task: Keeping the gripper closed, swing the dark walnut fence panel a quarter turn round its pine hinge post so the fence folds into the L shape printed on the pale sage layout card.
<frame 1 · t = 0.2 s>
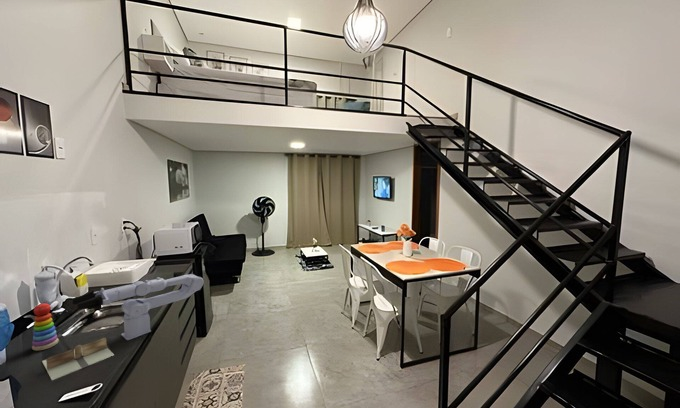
hand: (74, 304, 113), 22 cm above the worktop, tool horizontal, fingers open, 7 cm apart
layout card: (78, 358, 112), on the worktop
stacking toy: (45, 346, 121), on the worktop
fence panel: (60, 358, 108), point 3 cm above the worktop, hinge at 0.0°
fence: (78, 358, 112), resting on layout card
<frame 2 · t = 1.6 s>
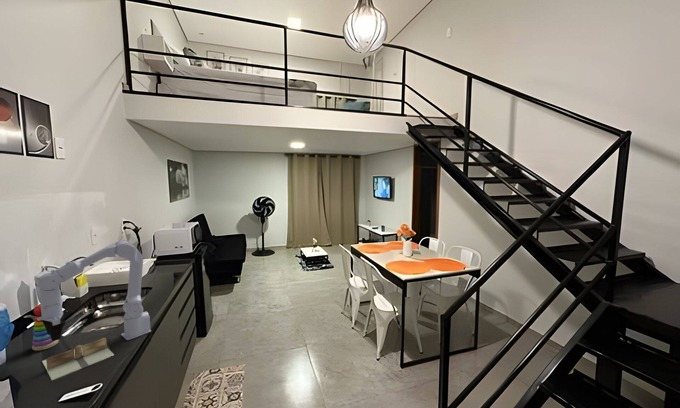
hand: (54, 336, 111), 9 cm above the worktop, tool pointing down, fingers open, 7 cm apart
nothing on the worktop moved.
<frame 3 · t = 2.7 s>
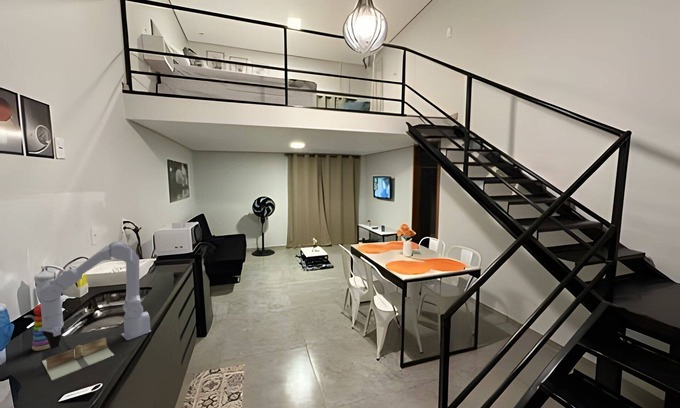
hand: (54, 347, 111), 5 cm above the worktop, tool pointing down, fingers closed
nothing on the worktop moved.
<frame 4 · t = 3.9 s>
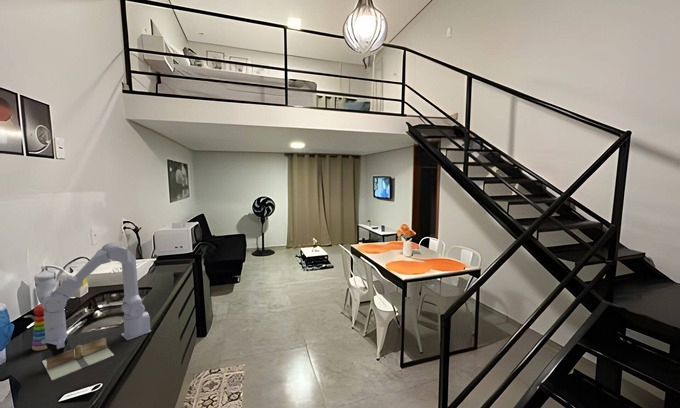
hand: (58, 359, 109), 2 cm above the worktop, tool pointing down, fingers closed
fence panel: (60, 358, 108), point 3 cm above the worktop, hinge at 0.0°, touching gripper
everything else where it was.
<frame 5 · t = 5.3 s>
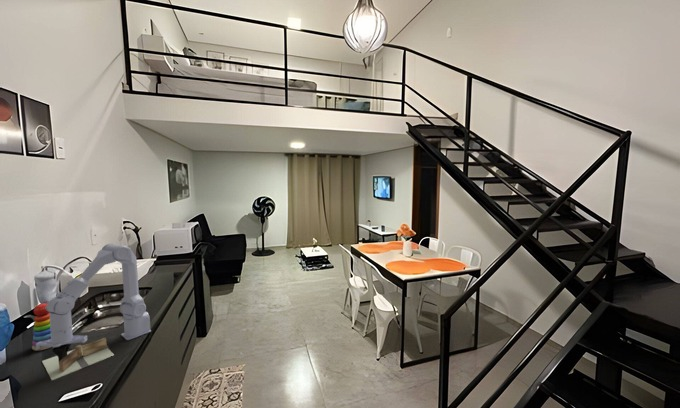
hand: (63, 363, 106), 2 cm above the worktop, tool pointing down, fingers closed, pressing on fence panel
fence panel: (68, 360, 107), point 3 cm above the worktop, hinge at 46.7°, touching gripper
everything else where it was.
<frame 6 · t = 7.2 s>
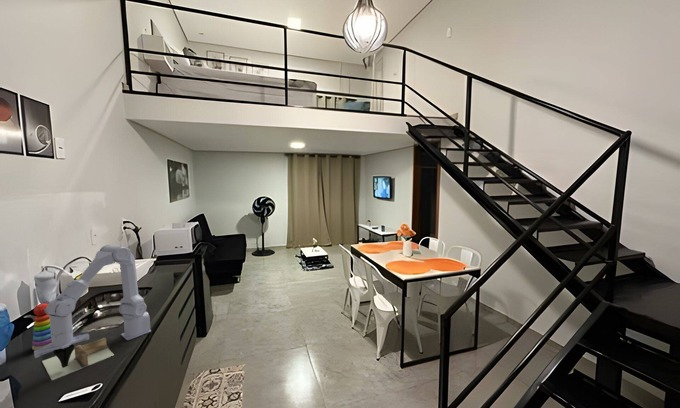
hand: (64, 365, 105), 2 cm above the worktop, tool pointing down, fingers closed
fence panel: (82, 356, 109), point 3 cm above the worktop, hinge at 92.1°
everything else where it was.
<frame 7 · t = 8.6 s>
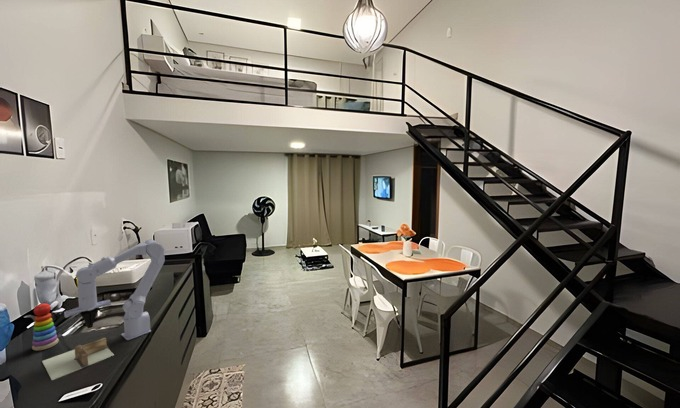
hand: (89, 327, 119), 9 cm above the worktop, tool pointing down, fingers closed
nothing on the worktop moved.
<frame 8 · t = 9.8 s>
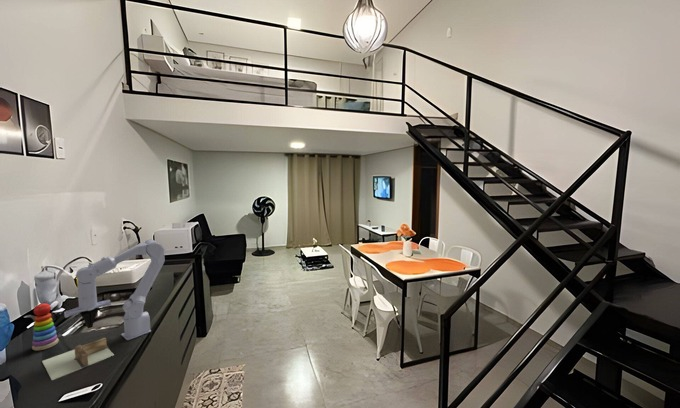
hand: (89, 327, 119), 9 cm above the worktop, tool pointing down, fingers closed
nothing on the worktop moved.
at the end: fence panel at +92° (first picture: +0°) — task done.
